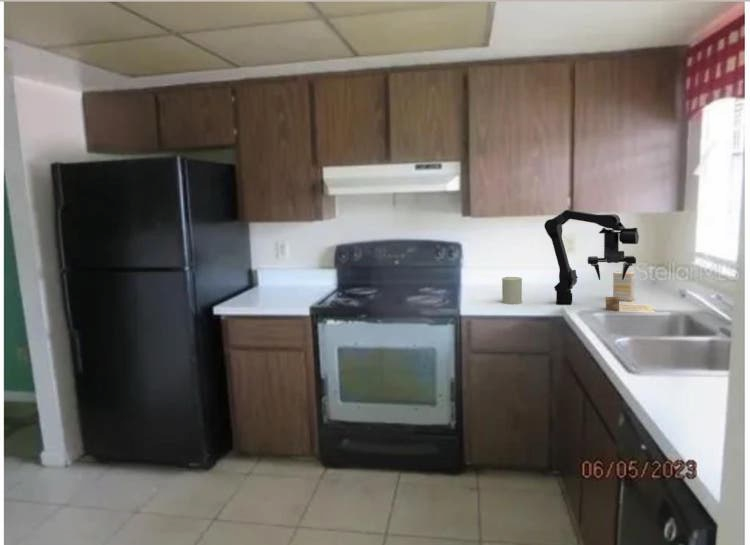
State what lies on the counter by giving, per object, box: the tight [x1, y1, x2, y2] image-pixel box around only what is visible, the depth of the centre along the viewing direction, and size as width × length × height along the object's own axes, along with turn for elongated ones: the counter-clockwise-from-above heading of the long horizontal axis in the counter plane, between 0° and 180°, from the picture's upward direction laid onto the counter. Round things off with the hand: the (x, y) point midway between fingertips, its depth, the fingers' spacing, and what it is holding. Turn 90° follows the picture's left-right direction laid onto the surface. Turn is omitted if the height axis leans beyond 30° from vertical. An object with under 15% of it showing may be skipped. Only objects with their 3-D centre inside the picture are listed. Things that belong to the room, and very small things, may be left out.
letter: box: [617, 303, 656, 314], centre depth 228 cm, size 14×16×1 cm
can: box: [501, 276, 523, 305], centre depth 250 cm, size 9×9×12 cm
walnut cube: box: [605, 296, 620, 312], centre depth 227 cm, size 5×5×5 cm
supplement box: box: [612, 271, 636, 302], centre depth 244 cm, size 8×5×13 cm, turn 48°
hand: (611, 279), depth 229 cm, fingers open, 9 cm apart
